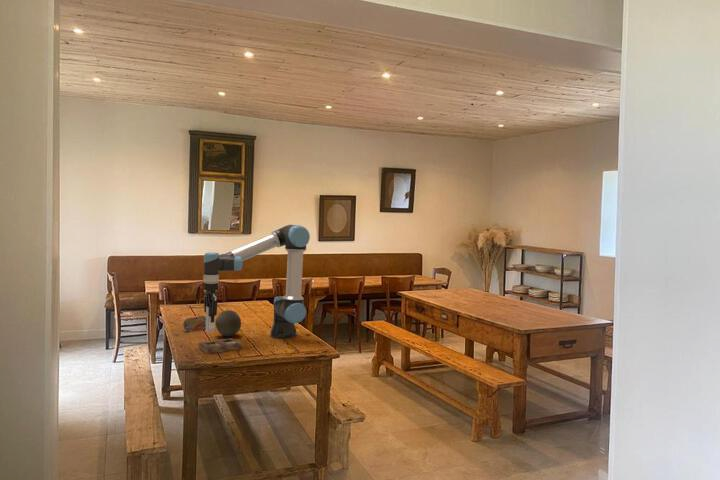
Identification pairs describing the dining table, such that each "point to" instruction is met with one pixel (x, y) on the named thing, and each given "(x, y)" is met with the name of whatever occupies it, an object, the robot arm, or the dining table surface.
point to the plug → (208, 320)
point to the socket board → (220, 345)
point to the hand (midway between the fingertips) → (210, 327)
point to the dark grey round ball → (228, 323)
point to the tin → (195, 323)
